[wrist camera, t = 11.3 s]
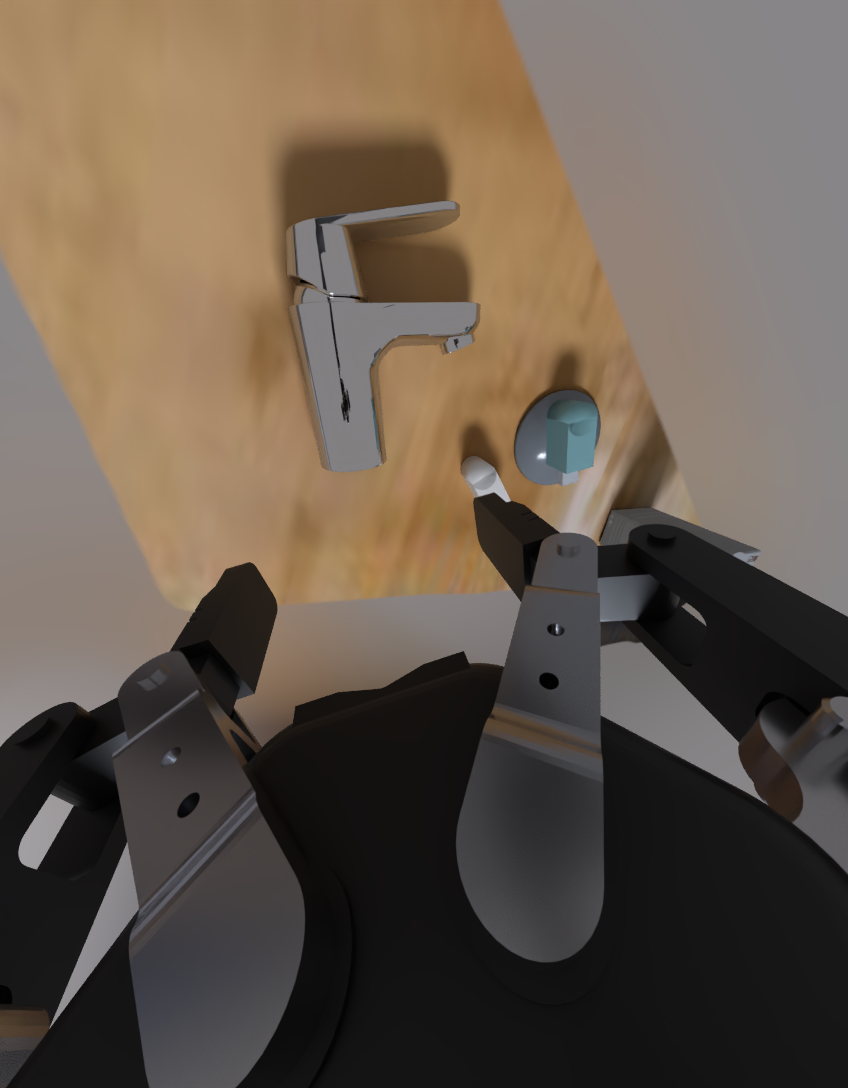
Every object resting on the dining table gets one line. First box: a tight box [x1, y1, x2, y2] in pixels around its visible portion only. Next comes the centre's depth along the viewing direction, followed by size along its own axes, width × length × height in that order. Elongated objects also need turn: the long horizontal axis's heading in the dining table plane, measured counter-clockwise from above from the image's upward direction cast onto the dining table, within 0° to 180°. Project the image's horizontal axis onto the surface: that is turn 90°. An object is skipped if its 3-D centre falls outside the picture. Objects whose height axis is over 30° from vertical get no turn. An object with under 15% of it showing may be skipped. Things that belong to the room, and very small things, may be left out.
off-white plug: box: [461, 456, 510, 502], centre depth 40 cm, size 9×3×4 cm, turn 31°
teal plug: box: [546, 399, 598, 486], centre depth 39 cm, size 10×4×4 cm, turn 11°
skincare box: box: [600, 507, 761, 565], centre depth 44 cm, size 8×7×16 cm
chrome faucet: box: [286, 201, 481, 472], centre depth 30 cm, size 18×7×20 cm
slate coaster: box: [514, 390, 601, 485], centre depth 41 cm, size 12×12×1 cm
